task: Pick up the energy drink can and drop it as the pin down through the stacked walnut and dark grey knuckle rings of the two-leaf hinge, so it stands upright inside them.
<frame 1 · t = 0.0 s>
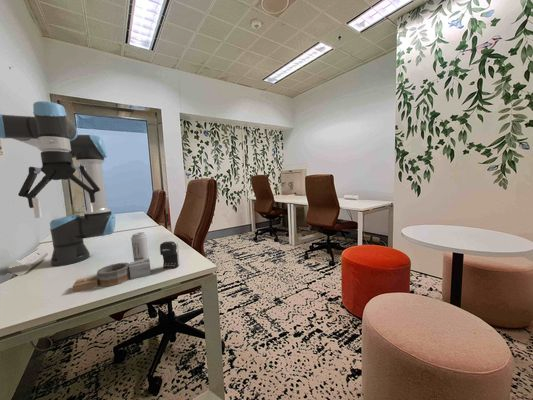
hand: (66, 214, 74), 28 cm above the table, tool pointing down, fingers open, 13 cm apart
energy drink can: (142, 266, 99), on the table
battery: (170, 267, 95), on the table
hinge: (115, 280, 85), on the table
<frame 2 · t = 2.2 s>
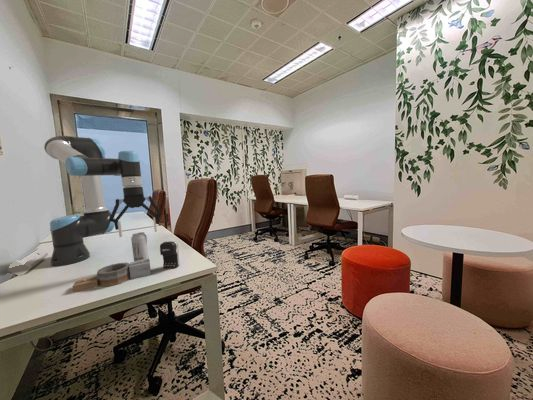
hand: (138, 233, 98), 15 cm above the table, tool pointing down, fingers open, 13 cm apart
nothing on the table moved.
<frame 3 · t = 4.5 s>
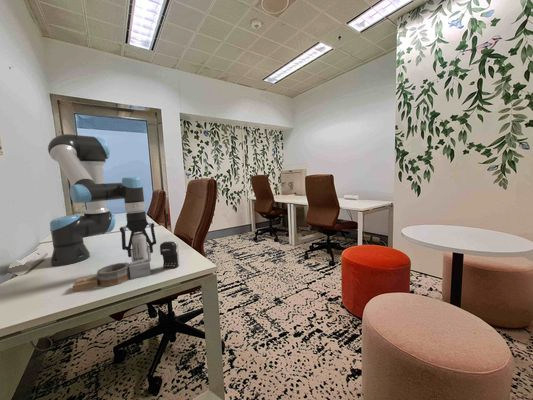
hand: (141, 261, 99), 2 cm above the table, tool pointing down, fingers closed on energy drink can, 6 cm apart
energy drink can: (142, 266, 99), on the table, touching gripper
everything else where it was.
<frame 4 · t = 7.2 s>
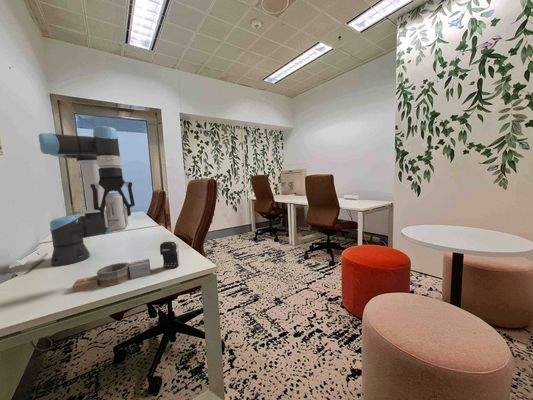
hand: (117, 225, 87), 21 cm above the table, tool pointing down, fingers closed on energy drink can, 6 cm apart
energy drink can: (118, 230, 87), point 19 cm above the table, touching gripper
everything else where it was.
when the fingers open (8 cm above the table, at t = 10.3 s): energy drink can drops 6 cm, resting in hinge.
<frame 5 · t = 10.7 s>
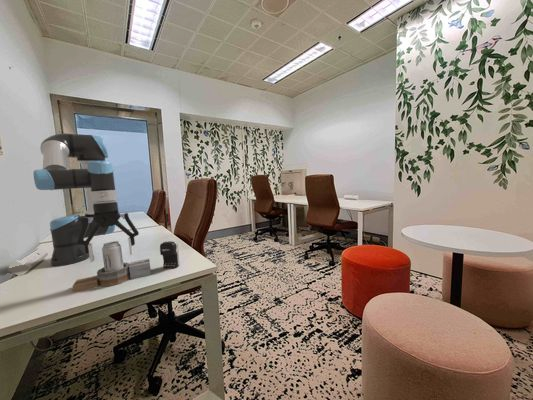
hand: (112, 257, 85), 9 cm above the table, tool pointing down, fingers open, 12 cm apart
energy drink can: (115, 280, 86), resting in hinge
everything else where it was.
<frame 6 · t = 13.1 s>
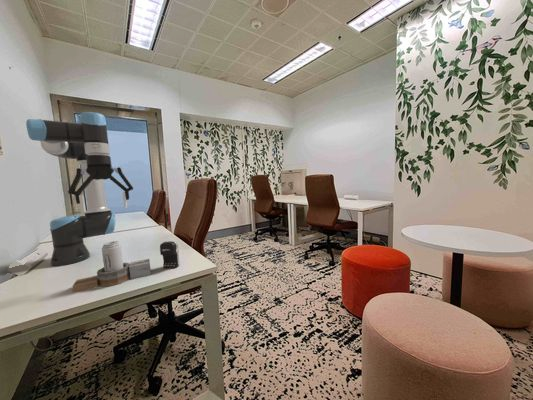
hand: (105, 210, 86), 28 cm above the table, tool pointing down, fingers open, 13 cm apart
nothing on the table moved.
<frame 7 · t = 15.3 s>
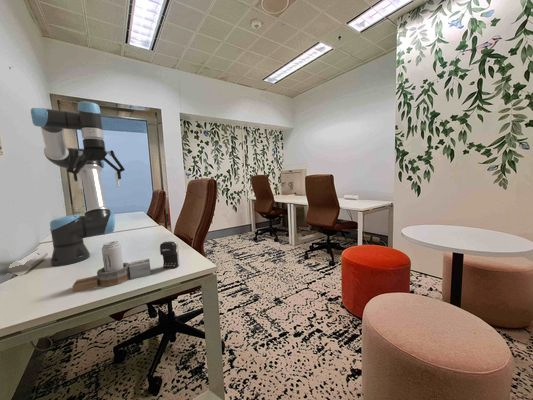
hand: (100, 187, 98), 37 cm above the table, tool pointing down, fingers open, 13 cm apart
nothing on the table moved.
at the end: energy drink can 0.0 cm off-centre on the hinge, point 0.0 cm above the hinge's base; energy drink can tilted 0° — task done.
